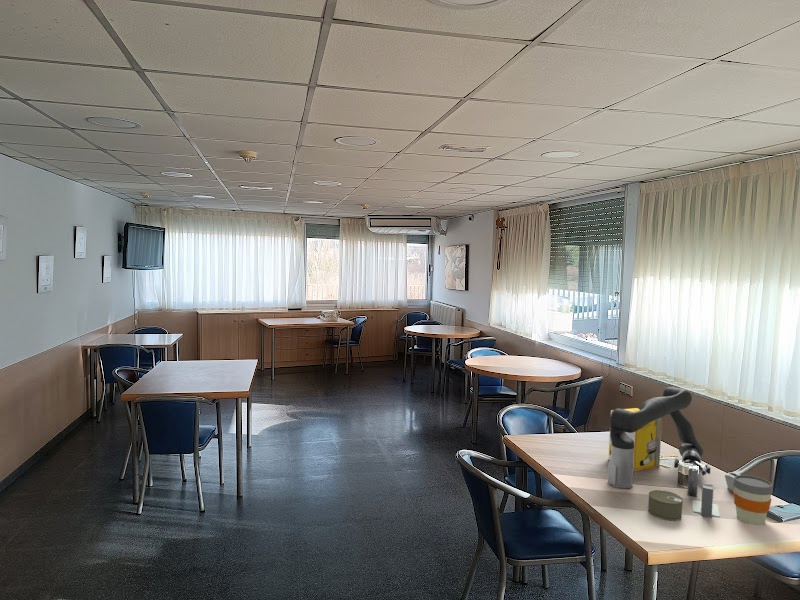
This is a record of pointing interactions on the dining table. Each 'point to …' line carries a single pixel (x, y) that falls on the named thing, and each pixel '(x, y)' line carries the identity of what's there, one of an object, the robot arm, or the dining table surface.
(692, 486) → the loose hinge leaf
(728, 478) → the hinge
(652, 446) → the packaging box
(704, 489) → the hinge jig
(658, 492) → the can
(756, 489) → the reusable coffee cup
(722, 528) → the dining table surface
